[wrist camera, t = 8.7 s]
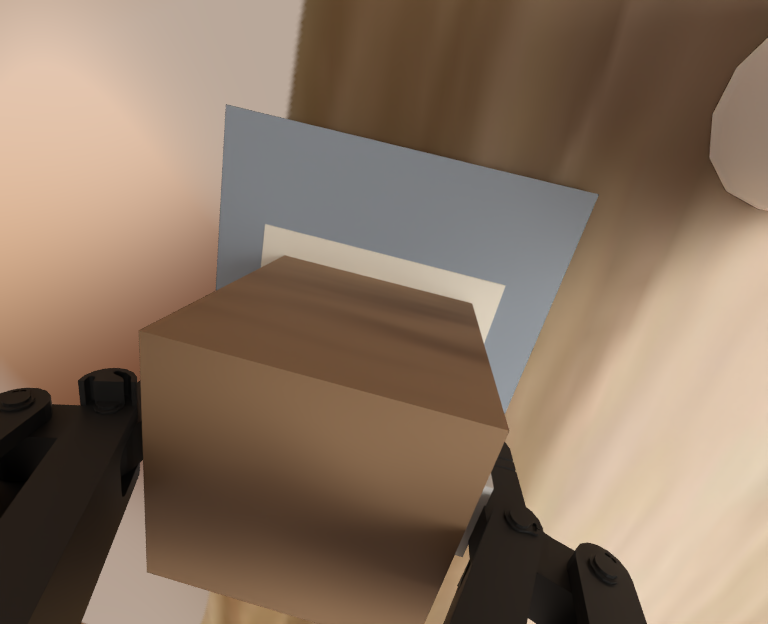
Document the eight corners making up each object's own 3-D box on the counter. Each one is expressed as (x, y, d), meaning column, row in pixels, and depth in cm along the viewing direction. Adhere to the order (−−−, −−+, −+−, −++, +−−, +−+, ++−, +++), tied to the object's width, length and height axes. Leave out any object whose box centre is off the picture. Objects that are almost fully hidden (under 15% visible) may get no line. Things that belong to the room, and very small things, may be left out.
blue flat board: (239, 109, 14) (224, 103, 13) (587, 193, 14) (600, 194, 13) (216, 453, 21) (205, 467, 20) (451, 520, 20) (452, 538, 19)
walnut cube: (284, 255, 15) (138, 330, 8) (472, 303, 15) (509, 430, 7) (265, 409, 18) (146, 572, 11) (421, 452, 18) (411, 652, 10)
